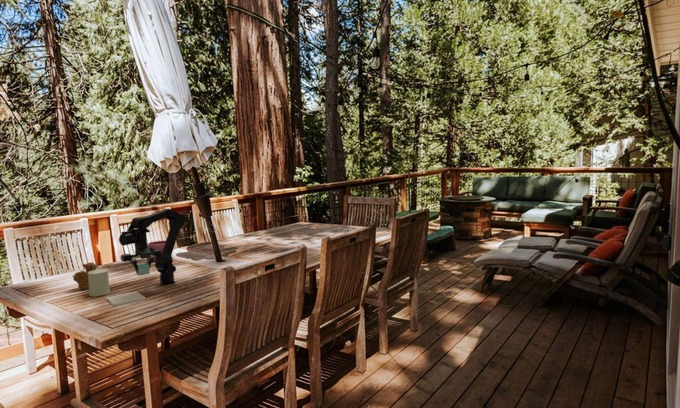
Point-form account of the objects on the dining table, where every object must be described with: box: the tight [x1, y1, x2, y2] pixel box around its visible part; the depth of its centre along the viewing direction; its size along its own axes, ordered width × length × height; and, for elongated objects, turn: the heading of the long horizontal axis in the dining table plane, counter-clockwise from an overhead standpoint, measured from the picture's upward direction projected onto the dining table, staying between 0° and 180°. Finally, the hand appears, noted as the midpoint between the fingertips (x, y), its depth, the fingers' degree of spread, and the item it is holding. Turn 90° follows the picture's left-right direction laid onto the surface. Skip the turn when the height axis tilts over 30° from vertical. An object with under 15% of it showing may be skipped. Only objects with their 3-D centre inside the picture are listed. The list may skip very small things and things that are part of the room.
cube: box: [135, 262, 151, 277], centre depth 217 cm, size 5×5×5 cm
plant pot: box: [147, 240, 166, 263], centre depth 285 cm, size 14×14×13 cm
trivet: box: [105, 290, 146, 307], centre depth 205 cm, size 14×14×1 cm
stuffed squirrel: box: [72, 261, 100, 291], centre depth 225 cm, size 10×14×13 cm
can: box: [88, 268, 111, 297], centre depth 215 cm, size 9×9×12 cm
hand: (142, 271), depth 217 cm, fingers closed on cube, 5 cm apart
